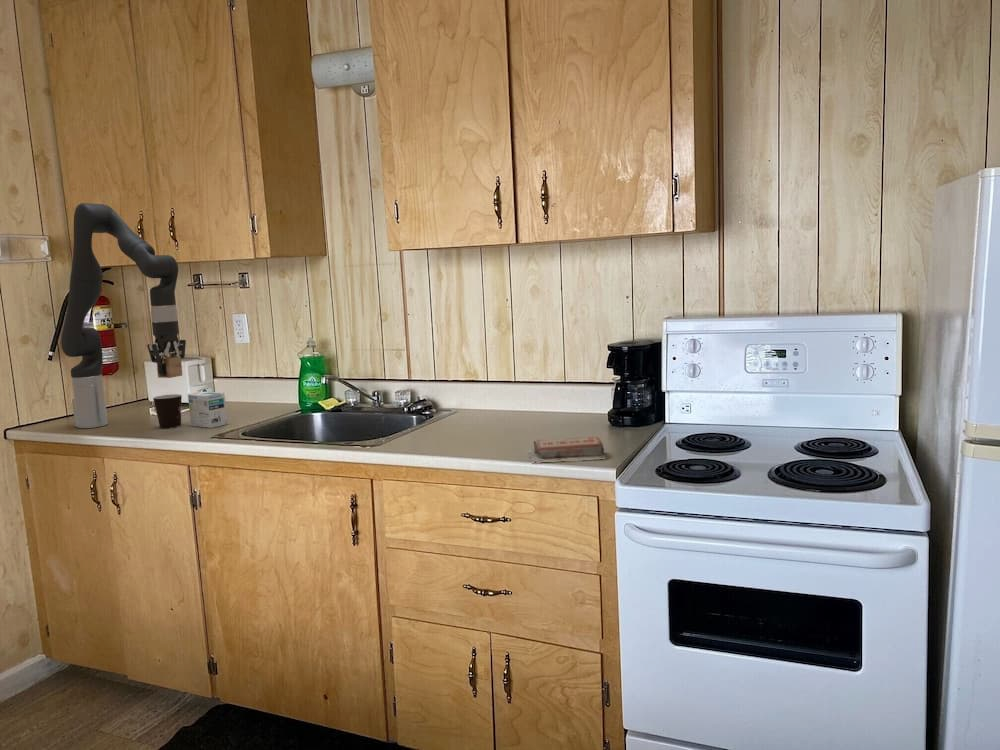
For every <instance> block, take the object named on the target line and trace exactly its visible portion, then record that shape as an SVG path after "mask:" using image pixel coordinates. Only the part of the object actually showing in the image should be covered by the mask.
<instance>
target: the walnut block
mask: <svg viewBox="0 0 1000 750" xmlns="http://www.w3.org/2000/svg"><path fill="white" fill-rule="evenodd" d="M161 360H162V357H161ZM165 364H166V372H167V375H166V376H160V374H159V369H158V364H157V363H156V371H157V378H159V379H160V378H161V379H163V378H164V379H166V378H167V379H169V378H170V379H171V378H177V377H181V376H182V377H183V367H182V359H181V357H173V356H172V357H171V356H170V355H169V356H167V357H166V361H165Z"/></svg>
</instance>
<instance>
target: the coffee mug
mask: <svg viewBox="0 0 1000 750" xmlns="http://www.w3.org/2000/svg"><path fill="white" fill-rule="evenodd" d="M152 399H153V402H154V407H155V411H156V416H157V420H158V425H159V428H160V429H171V428H170V427H174V428H178V427H177V426H179V427H181V426H182V401H183V399H182V394H178V393H177V394H164V395H157V396H154V397H153V398H152ZM180 425H181V426H180Z"/></svg>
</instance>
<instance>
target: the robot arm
mask: <svg viewBox="0 0 1000 750" xmlns="http://www.w3.org/2000/svg"><path fill="white" fill-rule="evenodd" d="M93 234H108V235H111V236H112V237H114V238H116V239H117V245H118V247H119V249H120V250H121V251H120V252H122V253H123V254H124V255H126V257H128V258H129V259H131V261H132V262H134V263H135V265H136V266H137V267H138V269H139V271H140V272H141V273H142V275H144V276H145V277H146V278H149V279H160V280H159V284H158V285H155V286H153V287H152V286H151V288H150V289H149V300H150V318H151V319H150V320H151V328H152V335H153V336H154V337H155V338H154V342H152V343H147V346H146V347H147V349H148V350H147V351H148V352H149V357H150V360H151V362H152V363H155V364H156V365H157V364H158V369H159V374H160V376H166V375H167V372H166V364H165V361H166V357H168V355H169V356H171V357H172V356H173V357H181V360H183V359H185V356H186V345H187V344H186V343H187V340H186V339H179V337H178V335H179V334H180V327H179V317H178V310H177V305H176V293H175V291H176V287H177V280H178V274H179V265H178V262H177V260H176V259H175V257H174V256H172V255H169V254H156V251H155V248H154V247H153V246H152V245H151V244H150V243H148V242H147V241H145V240H144V239H143V238H142V237H141V236H139V235H138V234H136V232H134V231H133V230H132V229H131V227H130V226H128V224H127V223H126V222H125V221H124V219H122V218H121V216H120V215H119V214H118V213H117V212H116V211H115V210H114V208H112V207H111V206H109V205H107V204H103V203H93V202H92V203H89V202H81V203H79V204H78V205H77V206H76V207H75V210H74V213H73V249H72V262H71V269H70V276H69V286H68V287H69V290H68V299H67V308H66V313H65V318H64V323H63V327H62V332H61V337H60V346H61V350H62V352H63V354H64V355H65V356H67V357H70V358H78V357H82V359H81V360H80V362H79V363H78V364H76V365H75V366H74V367H72V368H71V369H70V376H71V379H70V380H71V386H72V393H73V394H72V395H73V398H72V400H71V404H72V411H73V412H72V414H73V419H74V421H73V422H74V426H75V428H77V429H90V428H91V429H92V428H98V427H99V428H100V427H104V426H107V425H108V423H109V422H108V414H107V407H106V406H107V405H106V396H105V388H104V380H103V379H104V378H103V367H104V362H103V361H104V359H103V343H102V337H101V335H100V332H99V331H98V330H97V329H96V328H94V327H83V326H84V322H85V319H86V317H87V315H88V313H89V312H90V310H91V309H92V307H93V306H94V305H95V304H96V302H98V300H99V298H100V296H101V294H102V288H103V287H102V286H103V280H104V279H103V278H104V272H103V270H102V267H101V265H100V263H99V261H98V260H97V257H96V256H95V255H96V254H95V253H94V251H93V246H92V243H93ZM161 358H162V360H161Z"/></svg>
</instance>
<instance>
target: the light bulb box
mask: <svg viewBox="0 0 1000 750" xmlns="http://www.w3.org/2000/svg"><path fill="white" fill-rule="evenodd" d="M225 397H226V396H225V392H216V391H214V392H213V391H200V392H199V391H198V392H195V393H194V392H193V393H188V394H187V400H188V401H187V402H188V409H189V417H190V418H189V420H190V426H191V427H197V426H198V428H199V427H200V428H206V427H207V428H208V429H212V428H216V427H220V426H222V427H223V426H225V425H228V417H227V408H226V399H225Z"/></svg>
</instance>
